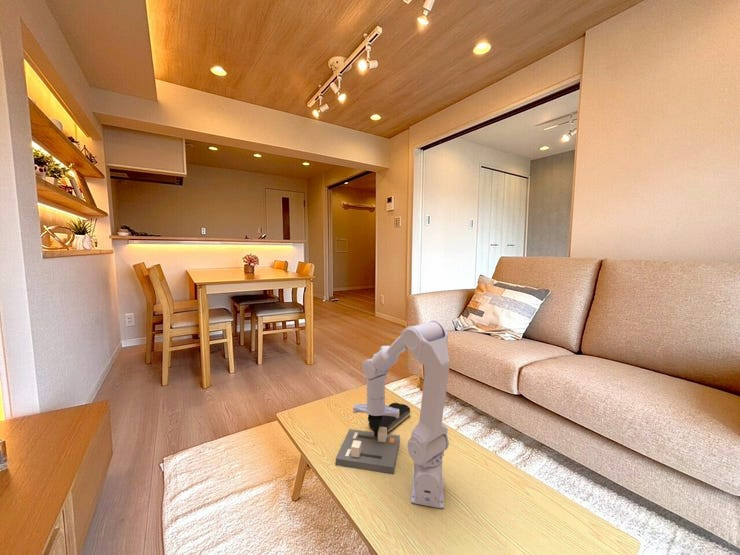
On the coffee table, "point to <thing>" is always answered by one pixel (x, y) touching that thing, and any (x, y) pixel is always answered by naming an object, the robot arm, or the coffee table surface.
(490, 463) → the coffee table surface
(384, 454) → the grey flat block
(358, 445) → the block
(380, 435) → the block
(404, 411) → the black sponge
